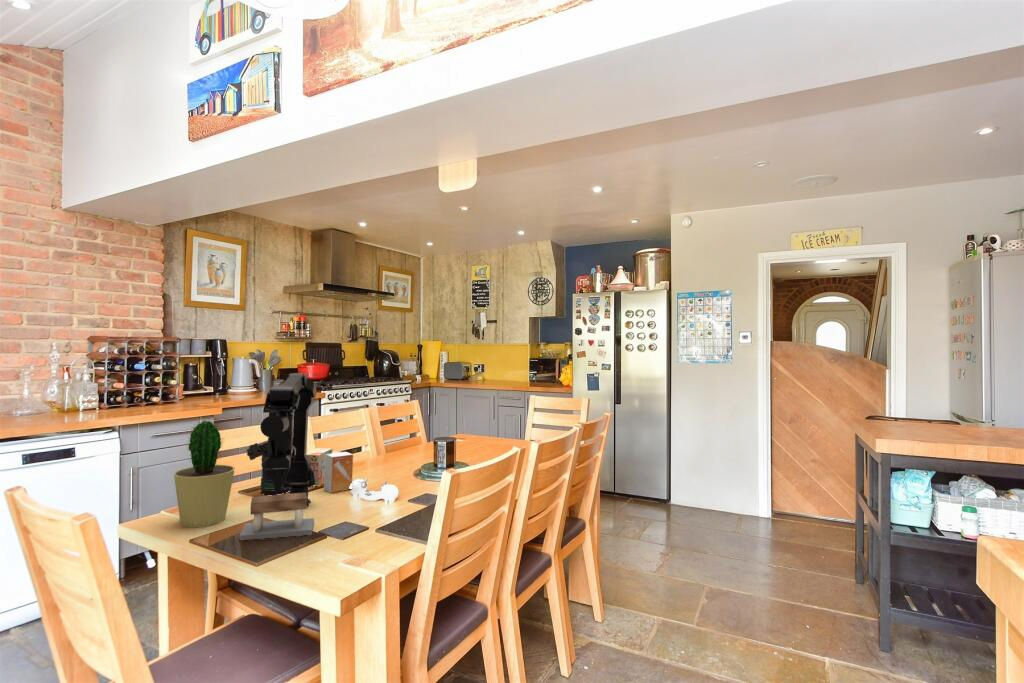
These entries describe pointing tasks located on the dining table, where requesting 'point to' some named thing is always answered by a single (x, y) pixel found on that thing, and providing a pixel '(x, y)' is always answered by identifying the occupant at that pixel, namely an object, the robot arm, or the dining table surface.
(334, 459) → the small box
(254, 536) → the grey base with posts
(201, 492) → the potted cactus
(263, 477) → the storage jar
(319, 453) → the patterned carton
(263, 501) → the shelf board
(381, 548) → the dining table surface
